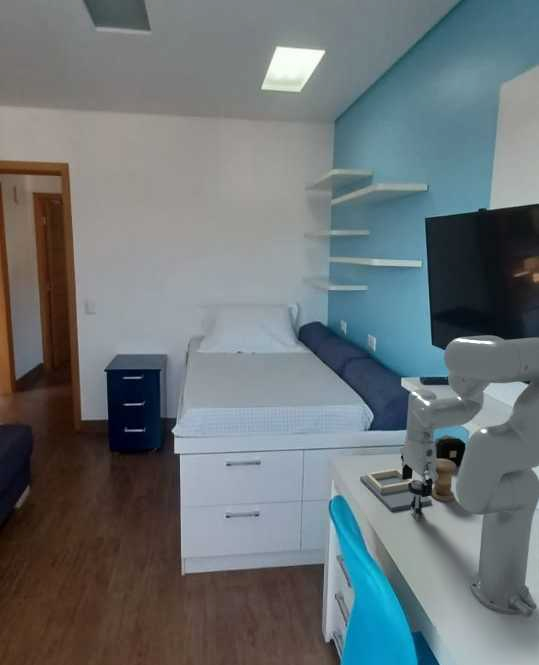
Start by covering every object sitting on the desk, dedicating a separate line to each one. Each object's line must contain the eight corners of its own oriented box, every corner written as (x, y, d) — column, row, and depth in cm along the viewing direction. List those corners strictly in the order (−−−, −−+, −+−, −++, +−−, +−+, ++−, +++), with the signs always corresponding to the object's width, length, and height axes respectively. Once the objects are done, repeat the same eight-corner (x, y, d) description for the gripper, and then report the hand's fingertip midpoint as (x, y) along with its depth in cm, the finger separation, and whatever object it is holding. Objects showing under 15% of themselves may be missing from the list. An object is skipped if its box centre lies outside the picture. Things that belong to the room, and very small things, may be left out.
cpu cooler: (457, 459, 173) (459, 433, 171) (466, 466, 168) (468, 440, 166) (431, 461, 172) (432, 435, 170) (438, 468, 166) (440, 442, 165)
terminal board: (431, 503, 144) (432, 494, 143) (391, 511, 140) (391, 501, 139) (396, 474, 163) (396, 465, 162) (360, 479, 159) (360, 471, 158)
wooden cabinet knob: (458, 499, 146) (460, 467, 144) (439, 503, 144) (441, 470, 142) (444, 488, 153) (446, 457, 151) (425, 492, 151) (427, 460, 149)
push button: (426, 523, 134) (428, 490, 132) (407, 520, 136) (408, 488, 134) (425, 510, 140) (427, 479, 139) (406, 508, 142) (408, 477, 140)
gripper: (450, 444, 126) (445, 501, 130) (414, 419, 143) (410, 471, 146) (426, 447, 124) (422, 505, 128) (392, 422, 141) (389, 474, 144)
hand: (416, 487), depth 137 cm, fingers open, 9 cm apart
